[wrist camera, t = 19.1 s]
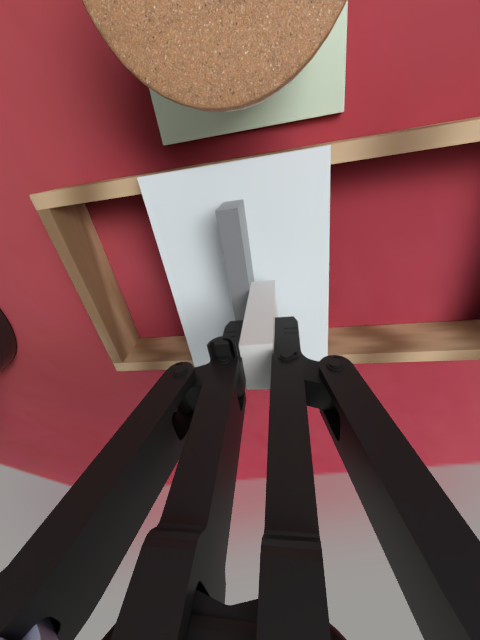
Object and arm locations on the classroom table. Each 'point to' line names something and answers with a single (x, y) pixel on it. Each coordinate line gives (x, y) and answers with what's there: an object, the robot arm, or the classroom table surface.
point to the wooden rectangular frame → (162, 352)
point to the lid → (245, 241)
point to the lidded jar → (215, 45)
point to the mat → (287, 106)
